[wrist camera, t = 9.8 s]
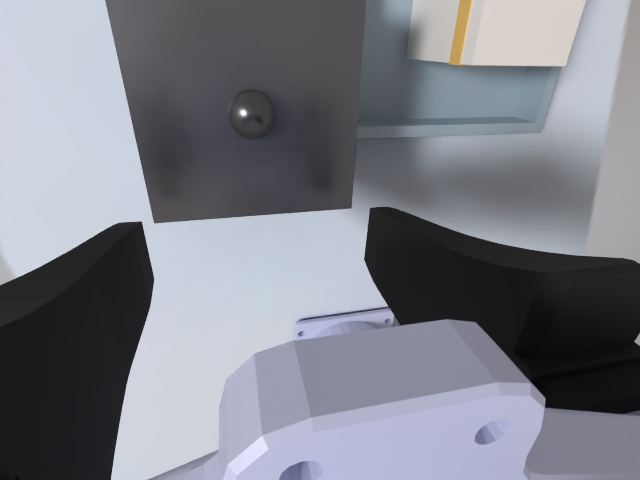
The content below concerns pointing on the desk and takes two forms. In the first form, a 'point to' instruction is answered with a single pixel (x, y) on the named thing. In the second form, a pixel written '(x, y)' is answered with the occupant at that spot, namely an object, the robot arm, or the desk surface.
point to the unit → (242, 103)
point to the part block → (494, 31)
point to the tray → (441, 87)
